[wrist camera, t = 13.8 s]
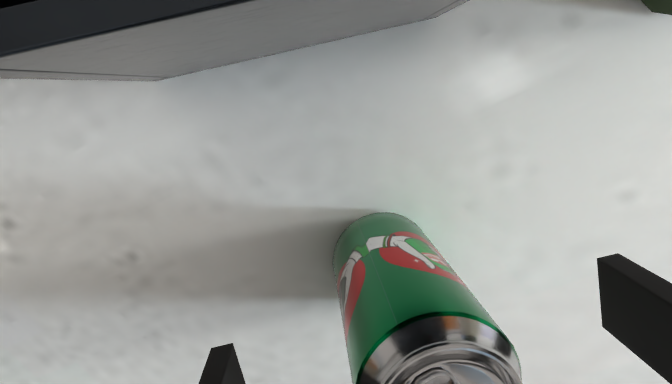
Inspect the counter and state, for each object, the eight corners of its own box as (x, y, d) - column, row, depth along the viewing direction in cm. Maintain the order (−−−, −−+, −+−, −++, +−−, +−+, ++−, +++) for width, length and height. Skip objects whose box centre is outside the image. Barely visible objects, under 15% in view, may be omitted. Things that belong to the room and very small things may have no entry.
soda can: (363, 315, 25) (415, 518, 13) (314, 241, 24) (323, 394, 12) (443, 267, 25) (569, 433, 13) (397, 191, 23) (490, 297, 12)
